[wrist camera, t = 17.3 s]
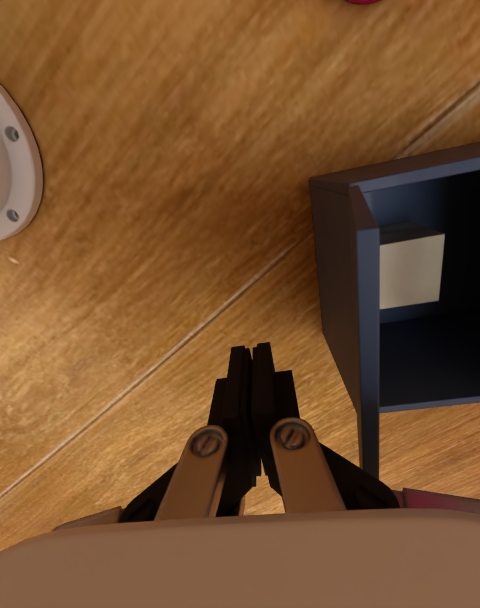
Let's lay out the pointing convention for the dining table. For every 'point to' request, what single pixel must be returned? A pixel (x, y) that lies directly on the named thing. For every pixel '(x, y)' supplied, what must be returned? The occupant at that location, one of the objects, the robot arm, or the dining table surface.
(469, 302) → the carton
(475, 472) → the dining table surface
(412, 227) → the block
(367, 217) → the flap
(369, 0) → the pepper mill
